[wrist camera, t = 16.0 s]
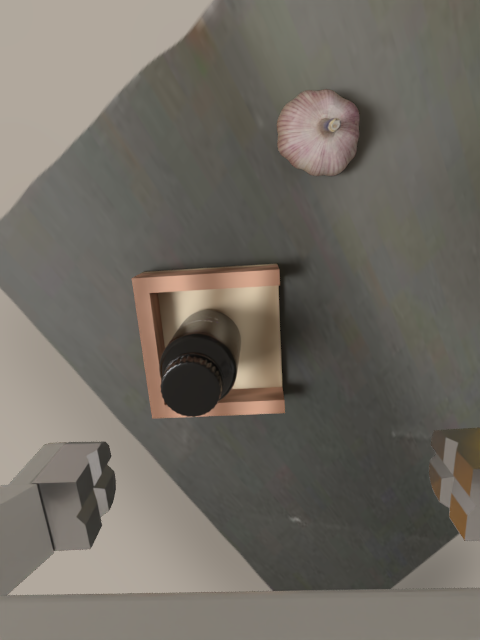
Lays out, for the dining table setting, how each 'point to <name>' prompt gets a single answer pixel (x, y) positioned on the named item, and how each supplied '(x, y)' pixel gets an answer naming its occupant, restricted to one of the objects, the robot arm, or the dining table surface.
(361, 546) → the dining table surface
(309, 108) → the garlic bulb
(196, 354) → the supplement bottle
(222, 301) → the open-sided tray
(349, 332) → the dining table surface
